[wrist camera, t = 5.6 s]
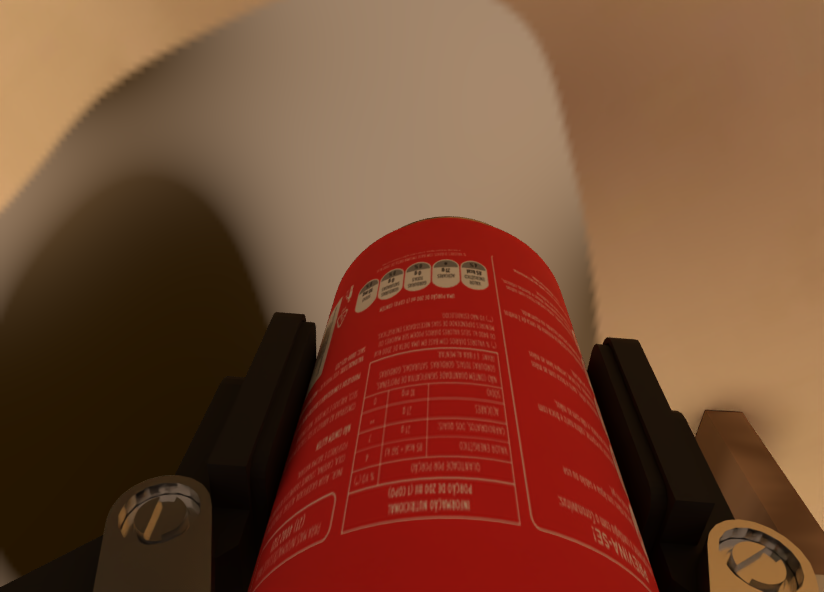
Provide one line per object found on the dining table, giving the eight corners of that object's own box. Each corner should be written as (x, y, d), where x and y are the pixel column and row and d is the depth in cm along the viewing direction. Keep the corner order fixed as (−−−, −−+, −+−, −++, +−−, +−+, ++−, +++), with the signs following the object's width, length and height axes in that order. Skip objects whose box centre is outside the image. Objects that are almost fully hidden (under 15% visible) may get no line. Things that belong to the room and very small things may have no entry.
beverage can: (577, 210, 14) (978, 1036, 3) (536, 395, 16) (695, 1188, 6) (341, 189, 14) (38, 956, 3) (337, 378, 16) (155, 1142, 6)
